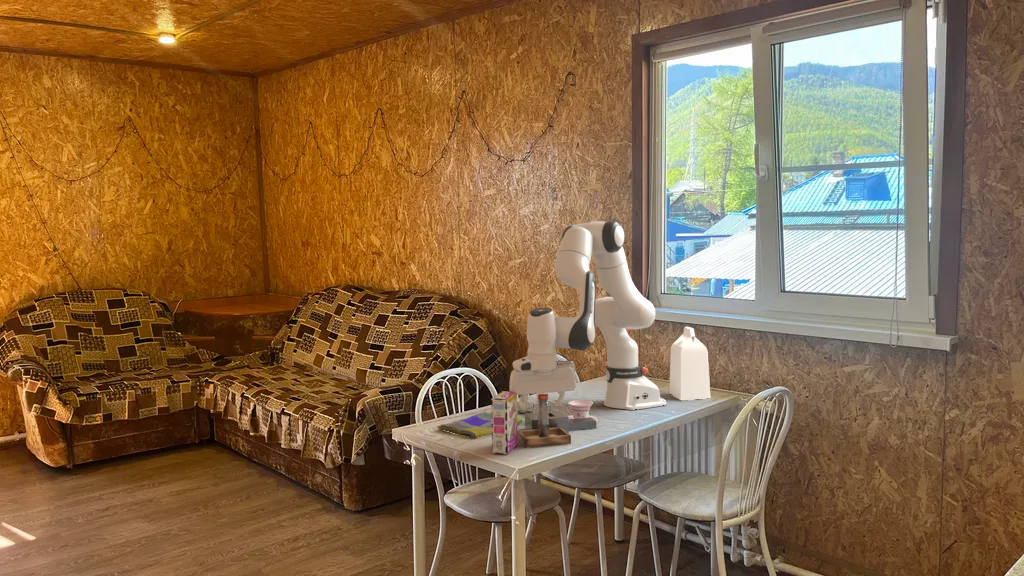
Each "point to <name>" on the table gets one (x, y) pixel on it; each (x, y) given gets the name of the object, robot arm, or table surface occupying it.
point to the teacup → (580, 409)
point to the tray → (555, 437)
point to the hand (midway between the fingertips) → (543, 407)
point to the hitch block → (559, 421)
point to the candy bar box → (504, 422)
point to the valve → (522, 408)
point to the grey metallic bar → (543, 415)
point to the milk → (689, 368)
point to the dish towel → (472, 426)
